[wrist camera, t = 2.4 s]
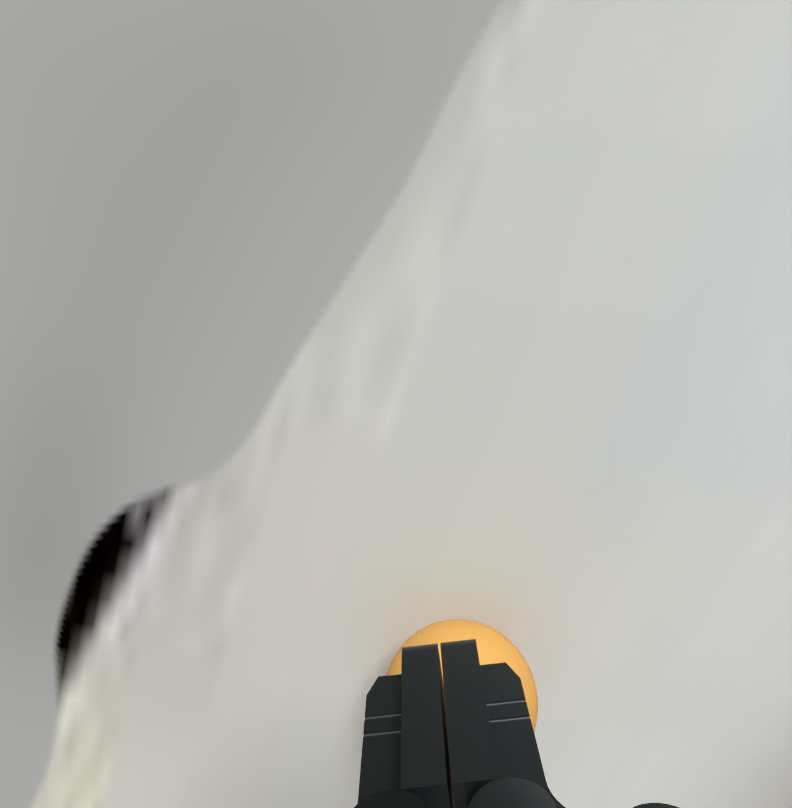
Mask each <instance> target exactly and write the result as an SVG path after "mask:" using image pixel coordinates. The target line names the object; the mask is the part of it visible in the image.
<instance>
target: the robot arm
mask: <svg viewBox="0 0 792 808" xmlns="http://www.w3.org/2000/svg"><path fill="white" fill-rule="evenodd" d="M440 646H441V659H442V670H441V663H440V656H439V649H438V644H428V645H419V646H410V647H402V671H401V674H398V675H389V676H380V677H378V678H377V680H376V682H375V683H374V685H373V686H372V688H371V690H370V691H369V693H368V694H367V698H366V710H365V722H364V737H363V747H362V759H361V772H360V784H359V796H358V804H357V805H356V806H355V807H354V808H565V807H564V806H563V805H561V804H560V803H559V802H558V801H557V800H556V799H555V797H554V796H553V795H552V794H551V792H550V790H549V788H548V786H547V783H546V780H545V776H544V772H543V768H542V763H541V759H540V755H539V751H538V747H537V743H536V739H535V735H534V731H533V727H532V723H531V719H530V715H529V711H528V707H527V703H526V699H525V694H524V690H523V686H522V682H521V678H520V677H519V676H518V675H517V674H516V673H515V672H514V671H513V670H512V669H511V668H510V666H509V665H508V664H507V663H506V662H504V663H495V664H486V665H480V663H479V656H478V650H477V644H476V639H470V640H461V641H453V642H444V643H440ZM442 671H443V677H442ZM633 808H678V807H676V806H672V805H668V804H662V803H647V804H641V805H638V806H635V807H633Z"/></svg>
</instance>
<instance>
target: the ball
mask: <svg viewBox="0 0 792 808" xmlns="http://www.w3.org/2000/svg"><path fill="white" fill-rule="evenodd" d="M470 639H476V644H477V650H478V656H479V663H480V665H486V664H495V663H504V662H506V663H507V664H508V665H509V666H510V668H511V669H512V670H513V671H514V672H515V673H516V674H517V675H518V676H519V677H520V678H521V682H522V686H523V690H524V694H525V699H526V703H527V707H528V711H529V715H530V719H531V723H532V727H533V731H534V730H535V726H536V721H537V712H538V700H537V692H536V687H535V682H534V679H533V676H532V673H531V671H530V668H529V666H528V664H527V662H526V660H525V659H524V657H523V656H522V654H521V653H520V652H519V650H518V649H517V648H516V647H515V646H514V645H513V644H512V642H511V641H510V640H509V639H508V638H506V637H505V636H504V635H502V634H501V633H500V632H498V631H496V630H495V629H493V628H491V627H489V626H487V625H484V624H482V623H479V622H475V621H470V620H460V619H456V620H446V621H441V622H437V623H434V624H432V625H429V626H427V627H425V628H423V629H421V630H420V631H418V632H417V633H416V634H414V635H413V636H412V637H411V638H409V639H408V640H407V641H406V642H405V643H404V645H403V646H402V647H410V646H419V645H428V644H438V649H439V656H440V663H441V670H442V659H441V646H440V643H444V642H453V641H461V640H470ZM402 647H401V648H400V650H399V651H398V653H397V654H396V656H395V658H394V659H393V661H392V663H391V666H390V669H389V671H388V674H387V676H389V675H398V674H401V671H402ZM442 677H443V671H442Z"/></svg>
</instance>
